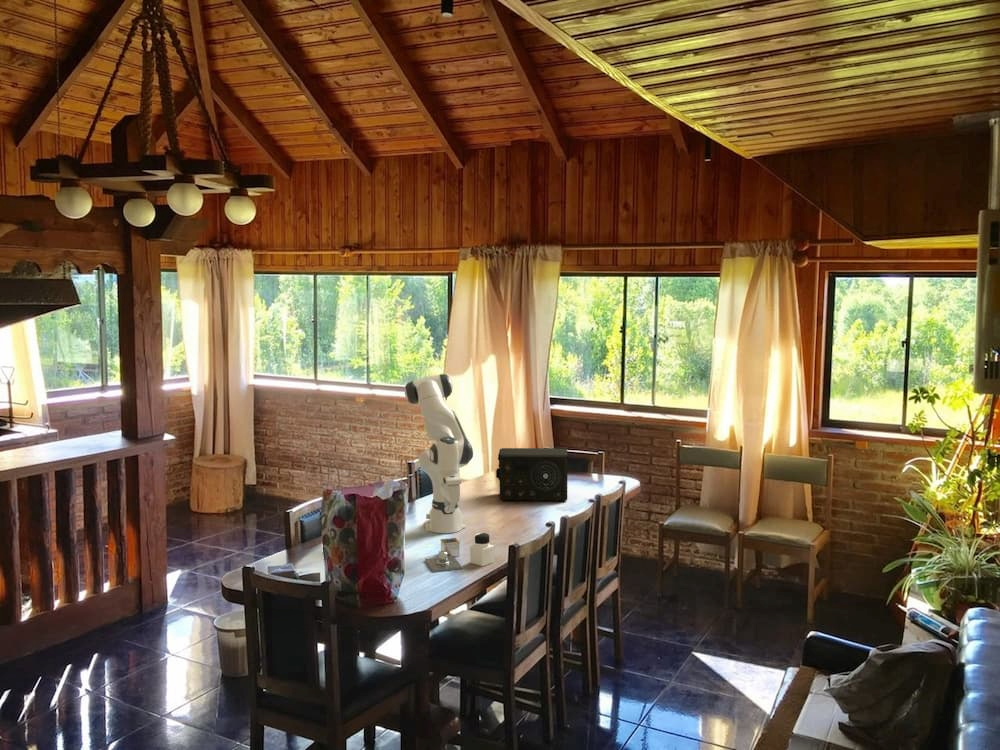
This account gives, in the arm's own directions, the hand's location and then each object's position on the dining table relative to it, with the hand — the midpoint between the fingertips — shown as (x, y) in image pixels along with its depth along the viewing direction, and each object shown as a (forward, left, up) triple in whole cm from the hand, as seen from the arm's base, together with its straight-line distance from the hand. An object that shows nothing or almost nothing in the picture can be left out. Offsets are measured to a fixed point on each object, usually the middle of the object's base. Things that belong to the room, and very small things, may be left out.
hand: (449, 508), depth 365 cm
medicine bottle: (+14, +10, -20) cm, 26 cm away
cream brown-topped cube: (0, 0, -20) cm, 20 cm away
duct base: (+12, -6, -20) cm, 24 cm away
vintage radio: (-76, +64, -20) cm, 101 cm away
